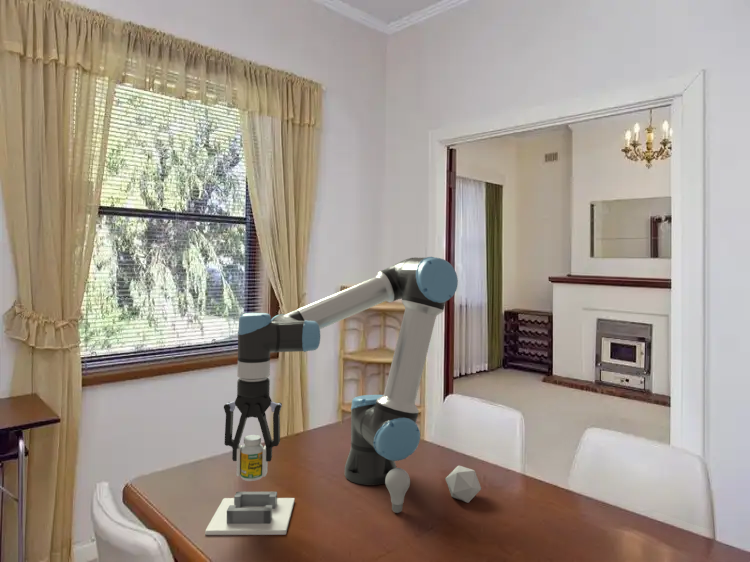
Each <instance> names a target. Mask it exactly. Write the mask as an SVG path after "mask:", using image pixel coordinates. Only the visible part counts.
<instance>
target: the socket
mask: <svg viewBox="0 0 750 562" xmlns="http://www.w3.org/2000/svg"><path fill="white" fill-rule="evenodd" d="M294 504H295V497H278V491H236V493H235V494H234V496H233V497H224V498H222V500H221V503H220V504H219V506H218V507H217V509H216V510H215V513H214V514H213V516H212V518H211V520H210V521H209V523H208V525H207V526H206V529H205V530H204V532H205V533H204V536H232V535H233V536H238V535H239V536H240V535H241V536H242V535H243V536H244V535H247V536H250V535H253V536H257V535H260V536H265V535H266V536H268V535H269V536H270V535H272V536H273V535H277V536H278V535H281V536H282V535H287V531H288V528H289V524H290V522H291V521H290V520H291V516H292V513H293V508H294V506H295V505H294Z"/></svg>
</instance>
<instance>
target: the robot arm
mask: <svg viewBox="0 0 750 562" xmlns="http://www.w3.org/2000/svg"><path fill="white" fill-rule="evenodd" d="M458 279H459V278H458V275H457V272H456V270H455V268H454V266H453V265H452V264H451V263H450V262H449V261H447V260H446V259H443V258H440V257H434V256H427V257H410V258H407V259H403V260H402V261H398V262H397V263H395V264H392V265H391V266H389V267H387V268H384V269H382V270H380V271H378V272H377V273H376V275H375V276H373V277H372V278H370V279H367V280H364V281H363V282H359V283H358V284H355V285H353V286H350V287H348V288H345V289H343V290H341V291H338V292H335V293H334V294H331V295H329V296H326V297H324V298H321V299H319V300H317V301H314V302H312V303H309V304H307V305H305V306H302V307H299V308H298V309H295V310H293V311H291V312H287V313H281V314H277V315H275V316H273V317H272V316H271V314H270V313H266V312H246V313H243V314H240V315H239V318H238V330H237V377H238V379H237V386H236V388H237V390H236V392H237V393H236V394H237V395H236V398H235V400H233V401H227V402H226V403H225V404H224V405H223V410H224V412H225V413H224V414H225V425H224V426H225V427H224V429H225V430H224V445H225V446H227V447H231V450H232V456H231V459H232V462H236V469H235V470H236V477H241V448H242V447H243V446H244V444H243V445H242V444H241V439H242V436H243V432H244V429H245V425H246V422H247V420H248V419H249V418H256V419H257V422H258V423H259V426H260V429H261V434H262V437H263V441H264V446H263V447H264V448H263V459H262V478H263V477H266V476H267V473H268V464H269V463H268V462H271V460H272V458H273V448H274V447H278V446H279V445H280V442H281V421H280V419H281V415H280V412H281V409H282V407H283V404H282V402H275V401H272V399H271V397H270V396H271V395H270V384H271V379H270V378H269V377H270V375H271V353H290V352H293V353H295V352H303V353H306V352H310V351H311V352H312V351H316V350H317V349H318V348H319V347H320V343H321V329H324V328H327V327H329V326H331V325H333V324H336V323H338V322H340V321H343V320H345V319H347V318H349V317H352V316H354V315H357V314H359V313H362V312H364V311H366V310H368V309H370V308H373V307H375V306H377V305H379V304H382V303H384V302H388V303H394V302H395V301H398V300H401V303H402V305H403V307H404V313H403V316H402V321H401V324H400V328H399V333H398V336H397V340H396V344H395V349H394V352H393V357H392V361H391V365H390V369H389V372H388V377H387V379H386V380H387V381H386V385H385V388H384V393H383V394H364V395H358V396H355V397H354V398H352V401H351V408H350V410H351V411H350V413H351V414H350V450H349V453H348V456H347V458H346V462H345V463H344V464H345V465H344V476H345V479H347V480H348V481H349V482H352V483H354V484H359V485H364V486H379V485H384V484H385V485H386V483H385V479H386V475H387V474H388V472H389V471H390V470H392V469H394V468H397V464H396V461H397V462H398V461H403V460H406V459H407V458H408V457H409V456H411V455H413V454H414V452H416V450H417V448H418V446H419V445H420V444H419V443H420V441H421V431H420V428H419V425H418V424H417V419H418V416H419V408H418V407H417V405H416V401H417V396H418V392H419V388H420V384H421V379H422V376H423V372H424V367H425V363H426V359H427V355H428V350H429V348H430V343H431V340H432V339H431V338H432V335H433V330H434V328H435V327H434V326H435V322H436V319H437V317H438V315H440V314H442V313H443V312H444V310H445V306H446V302H447V301H449V300H450V299H451V298H453V296H454V295H455V294H456V292H457V289H458V283H459V282H458V281H459V280H458ZM236 408H237V410H239V412H240V413H241V414H240V418H239V422H238V425H237V429H236V431H235V435H234V438H233V430H234V429H233V428H234V427H233V425H234V411H235V410H236ZM269 408H271V412H272V413H273V414H272V424H273V425H272V428H273V429H272V431H273V432H272V433H273V434H272V435H273V438H272V435H271V431H270V427H269V425H268V420H267V415H266V411H267V410H268V409H269Z"/></svg>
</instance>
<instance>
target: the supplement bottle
mask: <svg viewBox="0 0 750 562" xmlns="http://www.w3.org/2000/svg"><path fill="white" fill-rule="evenodd" d="M263 448H264V446H263V444H262V436H261V435H258V434H249V435H246V436H244V437H243V447H242V448H241V475H240V479H242V480H243V481H246V482H253V481H255V482H256V481H259V480H261V479H262V478H263V477H262V459H263Z"/></svg>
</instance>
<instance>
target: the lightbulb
mask: <svg viewBox="0 0 750 562" xmlns="http://www.w3.org/2000/svg"><path fill="white" fill-rule="evenodd" d="M410 485H411V478H410V475H409V473H408V472H407V471H406V470H405V469H403V468H401V467H396V468H394V469H392V470H390V471H389V472H388V474H387V475H386V479H385V487H386V488H387V490H388V492H389V494H390V495H389V496H390V502H391V511H392V512H393V513H396V514H399V513H401V512H402V511H403V507H404V506H403V505H404V504H403V503H404V501H405V495H406V493H407V491H408V490H409V488H410Z"/></svg>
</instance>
